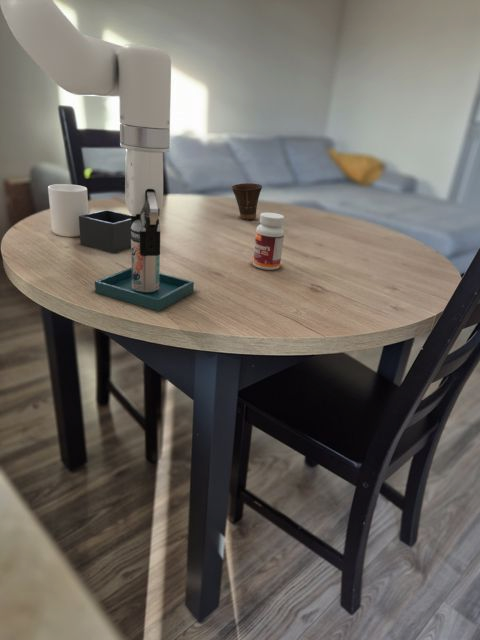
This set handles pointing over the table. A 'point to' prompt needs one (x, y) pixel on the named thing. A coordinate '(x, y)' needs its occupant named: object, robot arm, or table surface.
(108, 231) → the bin
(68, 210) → the mug
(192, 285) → the tray
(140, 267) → the beer can
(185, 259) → the table surface
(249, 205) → the cup
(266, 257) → the pill bottle
